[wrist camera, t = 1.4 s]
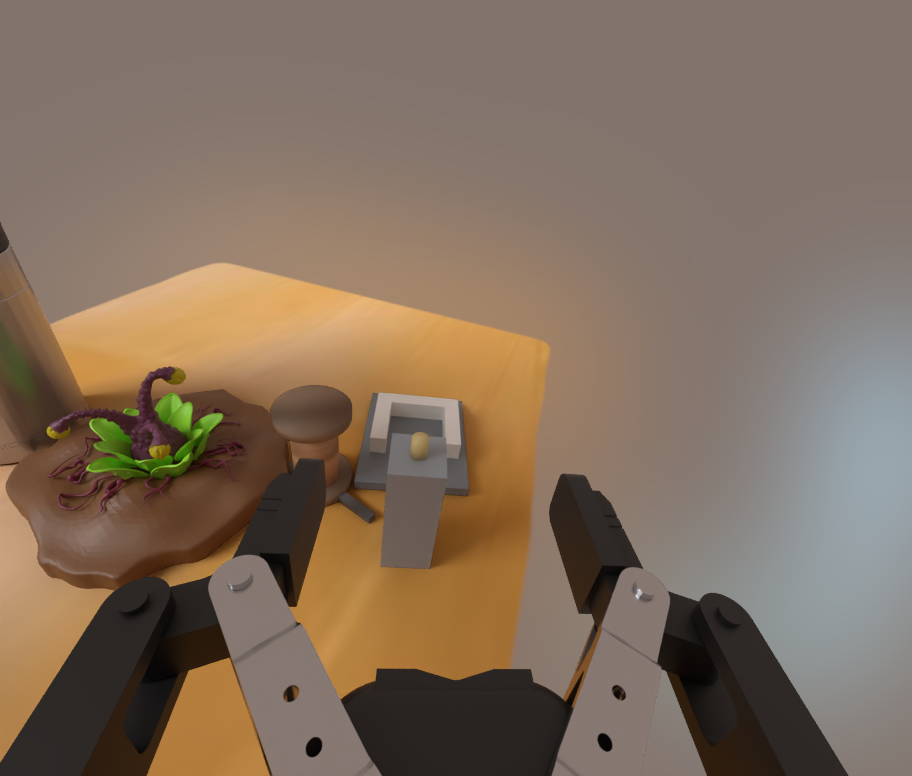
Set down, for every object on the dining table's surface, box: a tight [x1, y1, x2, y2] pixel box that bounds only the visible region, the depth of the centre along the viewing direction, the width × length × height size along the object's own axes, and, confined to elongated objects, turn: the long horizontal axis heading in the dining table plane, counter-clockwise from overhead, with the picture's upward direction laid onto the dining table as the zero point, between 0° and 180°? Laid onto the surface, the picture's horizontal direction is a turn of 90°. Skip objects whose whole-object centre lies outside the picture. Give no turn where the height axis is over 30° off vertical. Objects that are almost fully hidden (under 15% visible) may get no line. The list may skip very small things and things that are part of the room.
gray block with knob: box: [381, 432, 447, 569], centre depth 31 cm, size 4×4×13 cm
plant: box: [6, 366, 289, 591], centre depth 34 cm, size 20×20×11 cm
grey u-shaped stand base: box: [354, 392, 469, 496], centre depth 44 cm, size 14×11×3 cm
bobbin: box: [270, 385, 375, 523], centre depth 35 cm, size 10×6×9 cm, turn 32°
